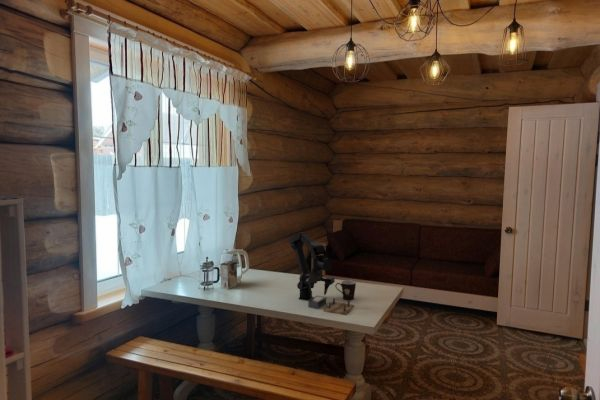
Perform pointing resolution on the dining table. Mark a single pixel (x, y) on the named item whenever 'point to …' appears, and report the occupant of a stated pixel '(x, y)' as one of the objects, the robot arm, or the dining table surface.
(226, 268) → the coffee box
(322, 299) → the drive
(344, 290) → the coffee mug
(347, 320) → the dining table surface
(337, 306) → the wooden peg board
